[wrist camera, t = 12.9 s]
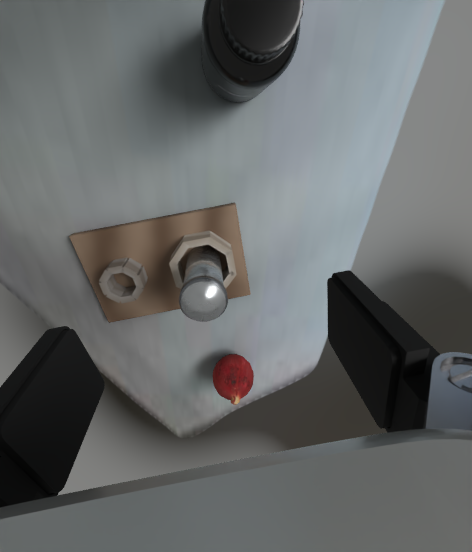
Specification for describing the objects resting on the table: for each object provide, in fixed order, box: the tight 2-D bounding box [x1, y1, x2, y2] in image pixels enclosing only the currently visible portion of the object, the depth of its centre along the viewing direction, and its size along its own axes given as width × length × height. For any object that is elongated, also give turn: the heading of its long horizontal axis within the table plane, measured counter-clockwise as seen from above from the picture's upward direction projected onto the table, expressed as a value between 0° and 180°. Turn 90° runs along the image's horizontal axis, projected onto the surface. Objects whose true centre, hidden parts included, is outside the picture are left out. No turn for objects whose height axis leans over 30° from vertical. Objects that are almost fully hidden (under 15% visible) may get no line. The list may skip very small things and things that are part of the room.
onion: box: [213, 354, 254, 405], centre depth 38 cm, size 6×6×8 cm
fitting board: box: [69, 203, 250, 323], centre depth 33 cm, size 19×12×4 cm, turn 99°
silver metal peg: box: [179, 245, 228, 321], centre depth 29 cm, size 4×4×10 cm
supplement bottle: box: [201, 0, 304, 102], centre depth 21 cm, size 7×7×12 cm
